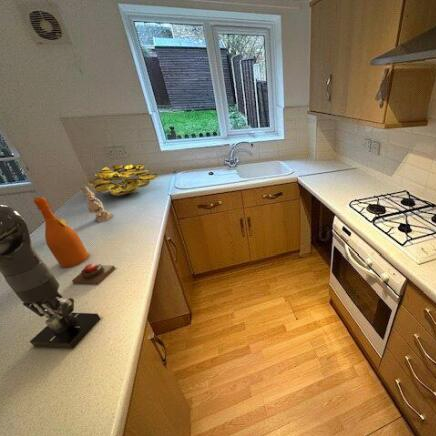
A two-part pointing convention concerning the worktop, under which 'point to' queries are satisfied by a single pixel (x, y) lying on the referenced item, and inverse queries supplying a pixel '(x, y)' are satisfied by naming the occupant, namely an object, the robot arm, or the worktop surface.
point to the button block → (94, 275)
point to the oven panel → (67, 332)
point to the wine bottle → (61, 237)
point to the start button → (90, 268)
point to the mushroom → (118, 188)
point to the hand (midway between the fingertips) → (64, 323)
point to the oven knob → (57, 324)
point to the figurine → (96, 206)
